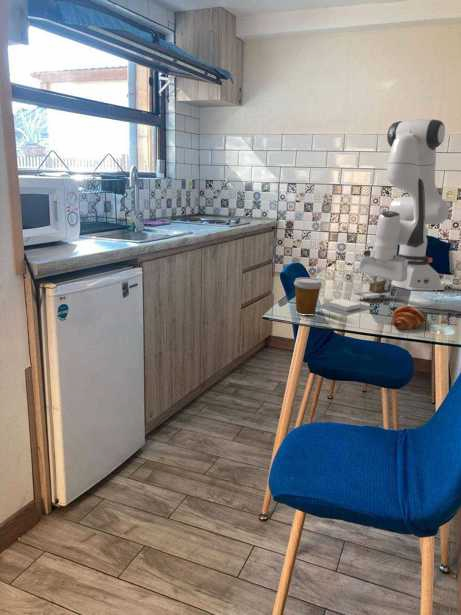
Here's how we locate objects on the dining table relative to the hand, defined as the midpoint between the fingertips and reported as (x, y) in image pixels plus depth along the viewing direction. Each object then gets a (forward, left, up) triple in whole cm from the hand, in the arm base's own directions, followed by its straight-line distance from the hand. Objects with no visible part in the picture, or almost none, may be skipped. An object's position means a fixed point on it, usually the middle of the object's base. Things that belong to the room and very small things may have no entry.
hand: (380, 288), depth 202 cm
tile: (+14, +17, -3) cm, 22 cm away
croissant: (-3, +33, -5) cm, 34 cm away
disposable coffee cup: (+31, +28, -4) cm, 42 cm away
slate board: (+16, +19, -4) cm, 25 cm away
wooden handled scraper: (+3, +3, -2) cm, 4 cm away
